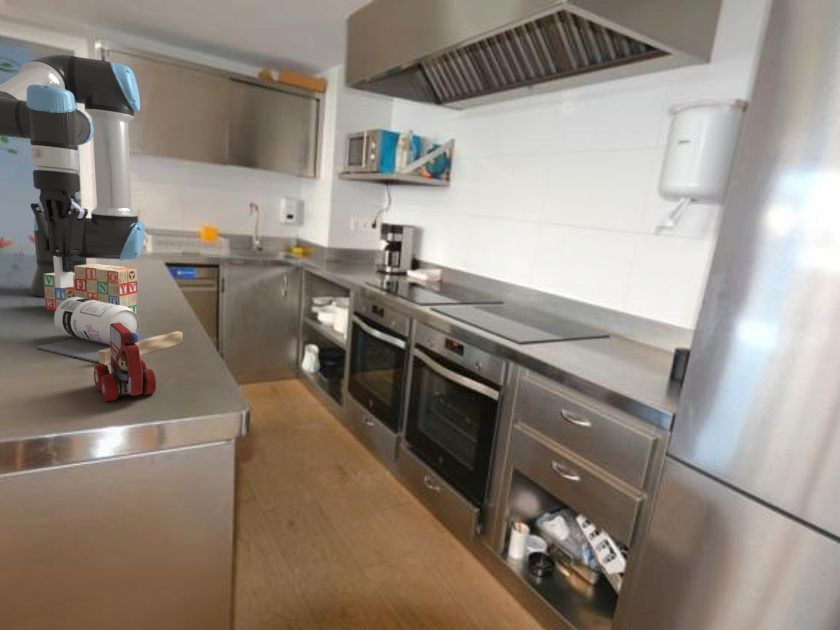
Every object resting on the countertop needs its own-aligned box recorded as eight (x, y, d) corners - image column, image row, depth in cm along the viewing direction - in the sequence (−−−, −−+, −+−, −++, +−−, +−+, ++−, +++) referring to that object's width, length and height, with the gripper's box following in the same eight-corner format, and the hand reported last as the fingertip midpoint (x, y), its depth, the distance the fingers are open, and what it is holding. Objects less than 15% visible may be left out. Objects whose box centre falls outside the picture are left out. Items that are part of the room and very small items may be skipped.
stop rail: (177, 341, 105) (176, 331, 105) (182, 343, 105) (182, 332, 104) (99, 363, 89) (98, 350, 88) (105, 364, 88) (104, 352, 88)
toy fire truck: (109, 410, 71) (106, 341, 69) (91, 384, 80) (88, 322, 77) (161, 400, 76) (159, 336, 74) (139, 376, 84) (137, 318, 82)
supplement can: (97, 304, 107) (148, 314, 102) (80, 339, 105) (131, 352, 100) (63, 290, 100) (116, 300, 95) (44, 327, 97) (98, 340, 92)
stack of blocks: (45, 310, 122) (41, 261, 119) (66, 306, 128) (63, 259, 126) (120, 320, 119) (118, 270, 116) (138, 315, 125) (137, 268, 122)
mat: (121, 330, 110) (121, 328, 110) (176, 341, 105) (176, 339, 105) (37, 348, 94) (37, 346, 94) (98, 363, 89) (98, 361, 89)
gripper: (12, 166, 95) (23, 284, 100) (61, 170, 91) (69, 293, 96) (51, 170, 102) (60, 280, 107) (98, 174, 98) (104, 288, 103)
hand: (64, 286), depth 102 cm, fingers closed
